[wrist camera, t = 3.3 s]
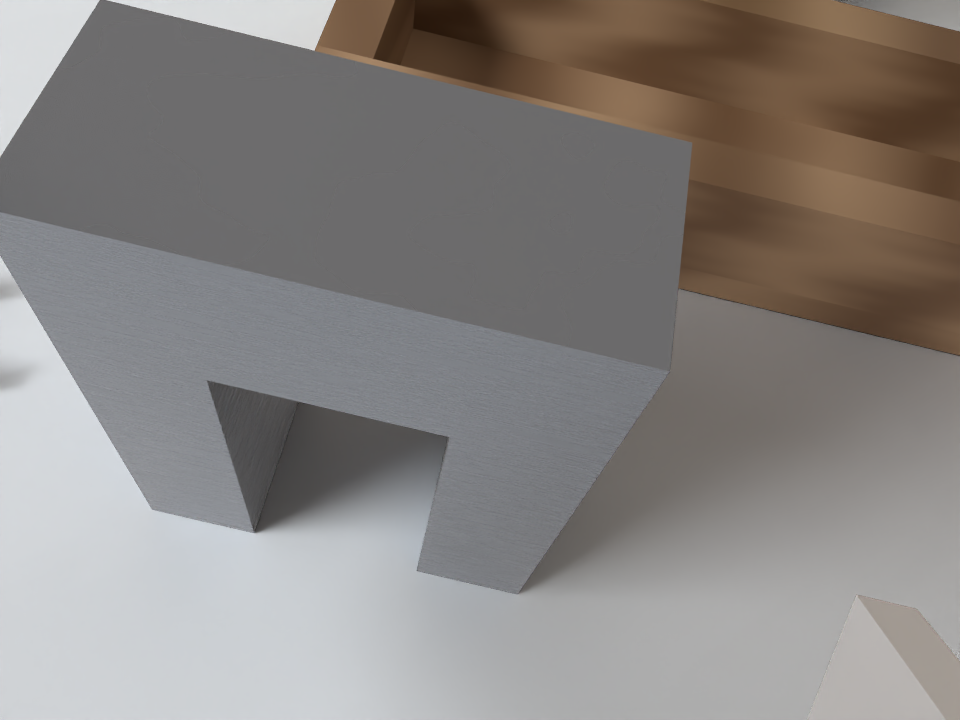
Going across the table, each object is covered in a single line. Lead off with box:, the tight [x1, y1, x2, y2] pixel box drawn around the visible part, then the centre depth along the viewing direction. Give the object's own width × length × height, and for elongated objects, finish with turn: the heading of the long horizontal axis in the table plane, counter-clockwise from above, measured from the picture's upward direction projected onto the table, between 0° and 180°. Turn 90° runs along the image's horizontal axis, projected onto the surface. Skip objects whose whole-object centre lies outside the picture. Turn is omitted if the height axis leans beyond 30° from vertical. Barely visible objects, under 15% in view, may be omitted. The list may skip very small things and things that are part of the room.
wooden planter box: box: [315, 0, 960, 355], centre depth 26 cm, size 22×8×4 cm, turn 79°
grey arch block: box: [0, 0, 692, 594], centre depth 17 cm, size 9×4×12 cm, turn 79°
